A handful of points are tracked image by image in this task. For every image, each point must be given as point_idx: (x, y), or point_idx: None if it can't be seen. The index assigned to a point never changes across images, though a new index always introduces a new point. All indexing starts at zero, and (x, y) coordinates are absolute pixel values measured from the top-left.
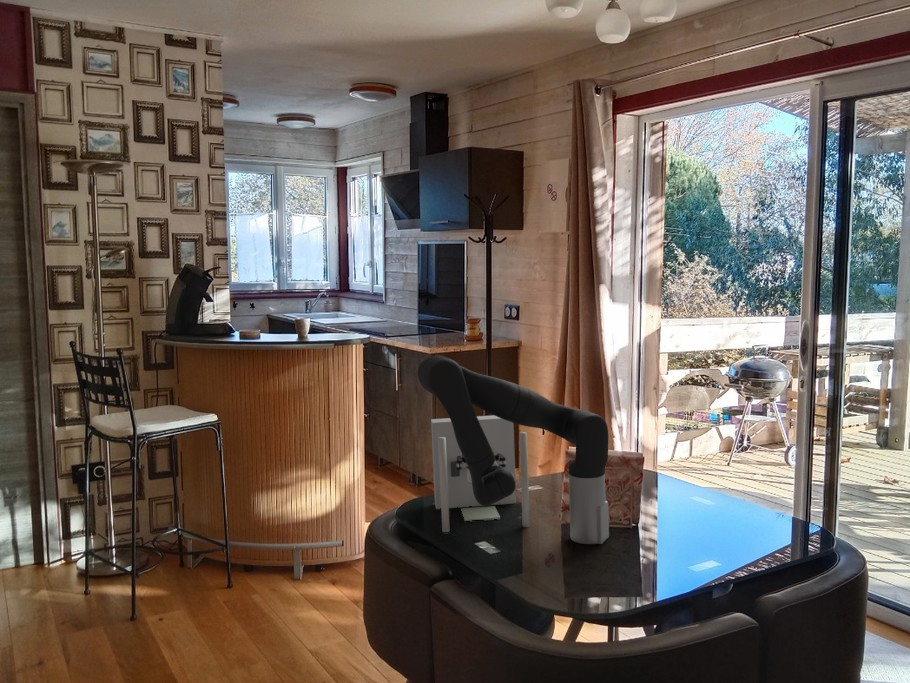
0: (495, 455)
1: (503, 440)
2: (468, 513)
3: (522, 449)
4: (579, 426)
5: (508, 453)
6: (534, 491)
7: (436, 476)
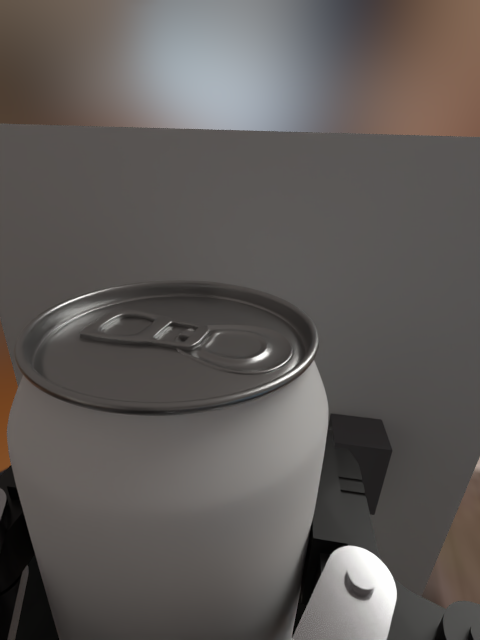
0: (414, 615)
1: (449, 320)
2: None
3: None
4: None
5: (455, 404)
6: (470, 489)
7: None
